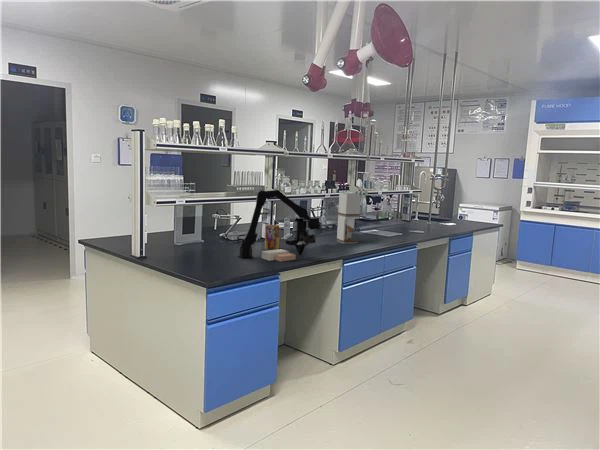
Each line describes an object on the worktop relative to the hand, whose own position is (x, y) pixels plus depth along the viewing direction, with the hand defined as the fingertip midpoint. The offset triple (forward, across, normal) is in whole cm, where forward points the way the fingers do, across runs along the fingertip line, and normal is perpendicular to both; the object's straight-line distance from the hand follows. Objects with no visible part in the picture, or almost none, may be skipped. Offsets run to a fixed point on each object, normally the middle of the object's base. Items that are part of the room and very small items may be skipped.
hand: (300, 255), depth 260 cm
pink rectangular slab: (+2, -11, 0) cm, 11 cm away
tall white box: (+2, +66, +23) cm, 70 cm away
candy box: (+2, +3, +31) cm, 31 cm away
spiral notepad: (+2, -13, +7) cm, 15 cm away
